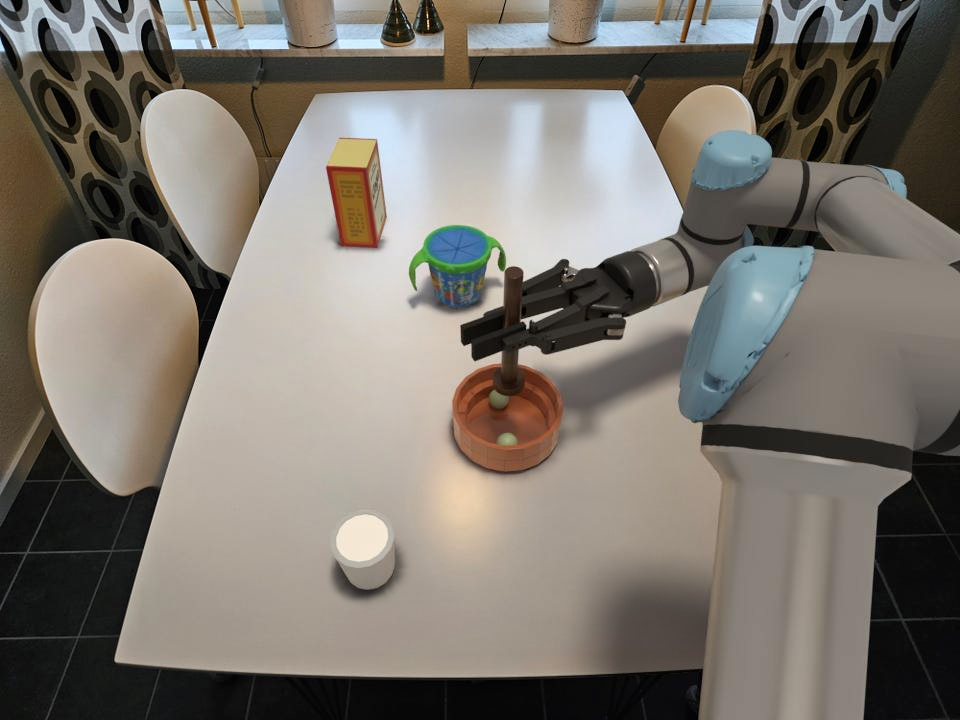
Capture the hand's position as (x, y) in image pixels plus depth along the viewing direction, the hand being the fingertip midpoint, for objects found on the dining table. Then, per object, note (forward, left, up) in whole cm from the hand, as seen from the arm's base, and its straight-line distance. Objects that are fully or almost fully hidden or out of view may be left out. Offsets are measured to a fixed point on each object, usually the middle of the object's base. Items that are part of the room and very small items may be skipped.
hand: (467, 343), depth 72 cm
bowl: (+5, -3, -19) cm, 20 cm away
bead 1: (+7, 0, -17) cm, 19 cm away
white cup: (-20, +1, -19) cm, 28 cm away
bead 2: (+1, -5, -17) cm, 18 cm away
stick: (+5, -3, -10) cm, 11 cm away
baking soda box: (+31, +41, -19) cm, 55 cm away
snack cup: (+25, +17, -19) cm, 36 cm away
